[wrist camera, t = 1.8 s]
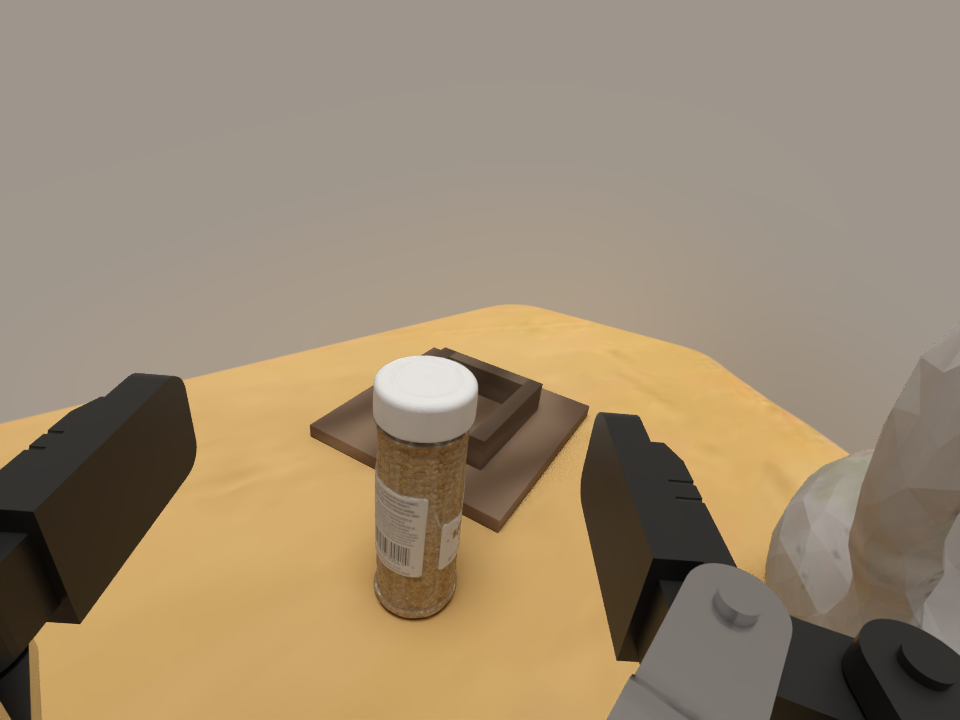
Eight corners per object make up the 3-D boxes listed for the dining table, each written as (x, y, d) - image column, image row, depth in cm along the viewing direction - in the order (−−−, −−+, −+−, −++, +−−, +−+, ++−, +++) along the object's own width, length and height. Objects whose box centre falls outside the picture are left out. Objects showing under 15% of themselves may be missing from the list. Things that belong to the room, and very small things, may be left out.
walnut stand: (310, 435, 40) (308, 396, 38) (433, 356, 52) (435, 324, 51) (497, 532, 33) (504, 490, 32) (586, 415, 46) (595, 381, 44)
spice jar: (471, 598, 29) (500, 390, 23) (394, 637, 27) (402, 417, 20) (430, 540, 32) (445, 344, 26) (359, 570, 30) (356, 362, 23)
